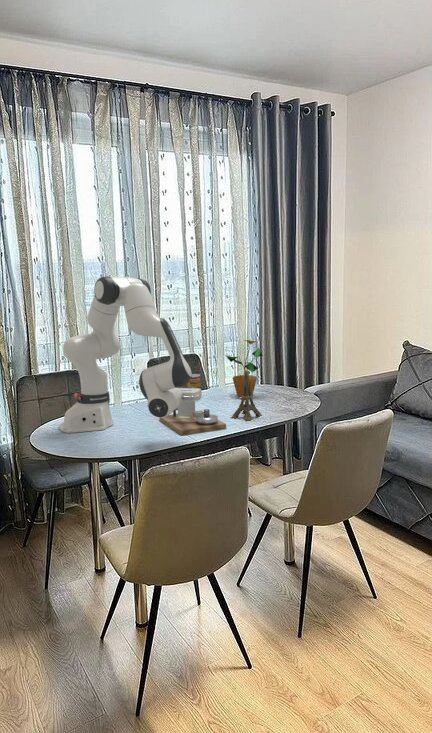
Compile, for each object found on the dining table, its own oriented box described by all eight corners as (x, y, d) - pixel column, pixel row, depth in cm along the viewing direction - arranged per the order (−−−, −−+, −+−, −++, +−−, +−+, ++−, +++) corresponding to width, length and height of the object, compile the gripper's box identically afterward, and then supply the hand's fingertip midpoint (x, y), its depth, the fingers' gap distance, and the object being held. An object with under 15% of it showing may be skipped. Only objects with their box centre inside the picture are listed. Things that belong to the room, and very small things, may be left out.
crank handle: (168, 423, 235) (167, 394, 232) (174, 417, 243) (173, 390, 241) (215, 425, 231) (215, 396, 229) (219, 419, 240) (218, 391, 238)
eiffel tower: (244, 413, 258) (244, 358, 254) (263, 416, 251) (263, 361, 247) (230, 418, 250) (229, 362, 246) (249, 422, 244) (249, 364, 239)
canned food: (190, 401, 282) (190, 377, 279) (182, 398, 288) (181, 375, 286) (203, 398, 286) (203, 375, 284) (194, 396, 292) (194, 373, 290)
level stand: (181, 435, 225) (180, 404, 223) (159, 420, 248) (158, 391, 245) (226, 428, 234) (225, 398, 232) (201, 414, 256) (200, 386, 254)
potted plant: (268, 399, 283) (268, 339, 278) (232, 402, 279) (231, 341, 273) (256, 391, 300) (256, 335, 295) (222, 394, 296) (221, 336, 290)
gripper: (197, 389, 207) (205, 382, 221) (143, 389, 211) (154, 381, 224) (198, 406, 208) (205, 398, 222) (144, 405, 212) (155, 397, 225)
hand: (179, 389), depth 223 cm, fingers closed
